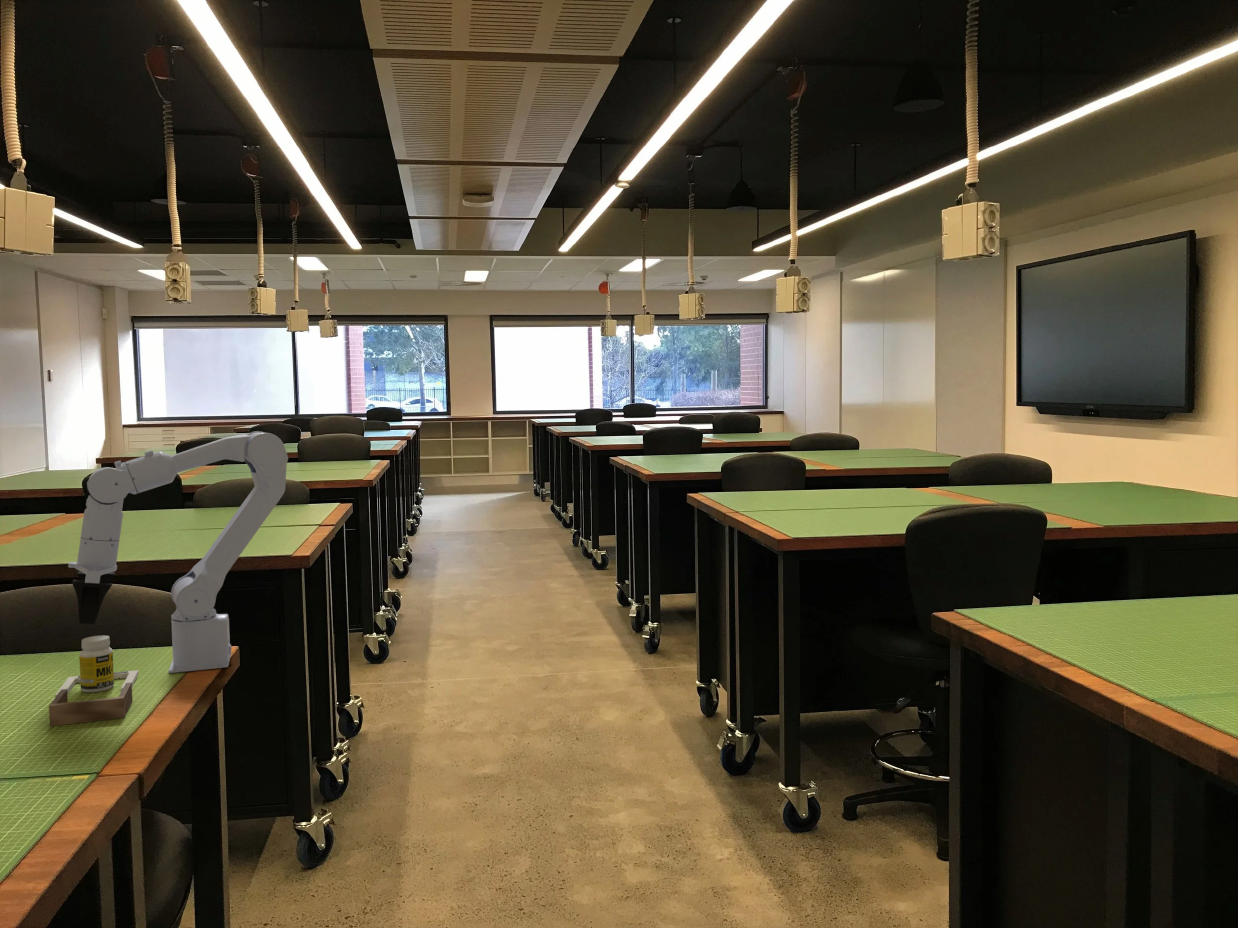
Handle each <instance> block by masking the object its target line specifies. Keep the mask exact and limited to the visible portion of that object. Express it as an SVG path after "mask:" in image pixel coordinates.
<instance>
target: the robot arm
mask: <svg viewBox="0 0 1238 928" xmlns="http://www.w3.org/2000/svg"><path fill="white" fill-rule="evenodd" d="M288 456H289V455H288V453H287V450H286V448H285V445H284V442H283V441H282V440H281V437H280V438H279V437H278V436H277V435H275V434H273V433H270V432H264V431H259V430H257V431H251V432H249V433H247V434H245V433H243V434H237V435H233V436H232V435H231V436H226V437H223V438H219V439H217V440H214V441H211V442H207V443H205V444H202V445H198V446H196V447H192V448H189V449H187V450H185V451H184V450H183V451H182V452H178V453H175V454H172V455H171V454H168V453H166V452H164V451H156V452H154V450H148V451H145V452H144V455H143V456H140V457H136V458H134V459H129V460H127V461H125V462H124V461H123V462H122V461H121V460H117V461H114V463H113V464H114V466H115V468H114V467H109V466H108V467H106V466H105V467H101V468H98V469H96V470H95V471H93V472H92V473H91V475H90V476H89V477H88V480H87V481H86V487H87V491H88V493H89V495H88V497H87V499H86V501H85V502H86V503H85V507H86V508H85V509H84V512H83V518H82V526H81V531H80V540H79V548H78V553H77V560H76V561H69V562H68V564H67V565H68V566H67V567H68V568H69V569H71V568H73V569H75V570H77V571H78V572H77V573H76V574H77V577H78V579H74V578H73V580H72V586H73V589H74V592H75V594H76V599H77V612H78V621H79V624H80V625H81V624H83V625H94V624H95V623H96V621H97V618H98V615H99V614H100V613H99V612H100V609H101V606H102V603H103V601H104V598H105V596H106V595H107V594H108V592H109V590H110V589H111V588H112V586H113V583H112V582H111V581H113V579H114V577H115V576H116V571H117V570H118V565H117V562H118V561H117V560H118V554H119V553H118V552H119V545H120V540H121V539H120V538H121V531H122V523H123V517H124V513H123V506H124V505H123V504H124V499H125V498H126V497H127V496H128V494H132V495H137V494H140V493H142V492H146V491H150V490H153V489H156V488H158V487H162V486H165V485H168V484H171V483H173V481H174V480H175V478H176V476H177V475H178V473H181V472H185V471H188V470H192V469H195V468H199V467H202V466H205V465H206V466H207V465H209V464H212V463H216V462H220V461H222V460H223V461H224V460H228V461H229V460H230V461H235V462H241V463H242V462H243V463H244V462H245V463H246V465H247V466H248V468H249V470H250V473H251V474H250V475H251V477H252V478H251V479H252V482H253V485H254V487H253V488H252V490H251V491H250V493H249V494H248V495H247V497H246V498H245V499H244V501H243V502H242V503H241V505H240V506H239V508H238V509H237V511H236V512H235V513H234V514H233V516H232V517H231V519H230V520H229V521H228V523H227V524H226V525H225V527H224V528H223V530H222V531H221V533H220V534H219V535H218V536H217V537H216V539H215V540H214V542H213V543H212V545H210V548H209V549H208V550H207V552H206V553H205V554H204V556H203V557H202V558H201V559H200V560H199V561H198V562H197V563H196V564H195V565H193V566H192V568H191V569H190V570H189V571H188V573H186V574H185V575H183V576H181V577H179V578H178V579H177V580H176V581H175V582H174V584H172V587H171V591H170V596H171V599H172V602H174V604H175V607H176V609H175V611H174V612H173V613H172V614H171V617H170V618H171V619H170V620H171V640H172V642H171V644H172V646H171V647H172V661H171V663H170V666H169V668H168V673H169V674H173V673H174V674H176V673H182V672H183V673H185V672H193V671H203V670H205V671H206V670H213V669H222V668H223V669H224V668H228V667H229V665H230V659H231V655H232V644H231V642H230V641H231V640H230V637H231V636H230V618H229V614H228V613H217V610H216V608H214V607H215V604H216V599H217V596H218V595H217V594H218V593H219V591H220V590H221V588H222V587H223V585H224V581H225V579H226V576H227V574H228V573H229V571H230V570H231V569H232V567H233V565H234V564H235V563H236V561H237V560H238V559H239V557H240V556H241V555H242V553H243V551H244V550H245V549H246V547H247V546H248V545H249V543H250V541H251V540H252V539H253V538H254V536H255V535H256V534H257V532H258V531H259V529H260V528H261V526H262V525H263V523H265V521H266V520H267V518H268V517H269V515H270V514H271V512H272V511H273V510H274V508H275V507H276V505H278V503H279V501H280V499H281V498H282V497H283V496H284V493H285V491H286V486H287V485H286V482H287V481H286V480H287V464H288V461H289V457H288Z"/></svg>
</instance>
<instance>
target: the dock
mask: <svg viewBox="0 0 1238 928" xmlns="http://www.w3.org/2000/svg"><path fill="white" fill-rule="evenodd" d="M113 673H114V680H119V679H118V678H120V679H125V680H124V681H123V684H122V685H121V687H120V692H121V691H122V689H123V687H124V686H125V684H126V683H131V682H132V687H134V684H135V683H134V682H136V681H135V680H137V679H136V678H138V677H137V676H139V670H138V669H136V670H124V671H116V672H114V671H113ZM75 684H81V683H80V675H78V676H77V675H76V676H68V678H67V679H66V680H65V681H64V683H63V684H62V685H61V687H59V689H58V691H57V692H56V693H55V695H54V696H55V697H56V696H57V695H58V693H59V692H60V691H61V690H63V689H67V695H68V694H69V693H70V692H71V690H72V689H73V687H74V686H75ZM55 697H54V698H55Z"/></svg>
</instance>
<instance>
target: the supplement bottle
mask: <svg viewBox="0 0 1238 928" xmlns="http://www.w3.org/2000/svg"><path fill="white" fill-rule="evenodd" d="M110 644H111V640H110V635H104V634H103V635H93V636H89V637H85V638H82V639H81V649H82V650H81V651H80V653H79V655H78V656H79V657H78V659H79V673H80V674H79V676H80V683H79V684H80V691H81V692H83V693H99V692H105V691H108V690H110V689H112V688H113V687H114V685H115V679H114V673H113V672H114V656H113V655H114V654H113V653H114V651H113V649H112V648H111V647H110V646H111V645H110Z"/></svg>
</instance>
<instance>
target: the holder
mask: <svg viewBox="0 0 1238 928" xmlns="http://www.w3.org/2000/svg"><path fill="white" fill-rule="evenodd" d="M68 697H69V696H68V694H67V689H63V690H61V691H60V692H59V693H58V695H57V696H56V697H54V699H53V700H52V701H51V703H50V704H49V705H48V715H49V717H48V718H49V726H50V727H54V726H55V727H56V726H62V725H63V726H65V725H73V724H74V725H75V724H81V723H90V722H91V723H92V722H99V721H107V720H115V719H116V720H117V719H123V718H125V717H126V715H127V713H128V712H129V710H130V707H131V705H132V703H133V686H132V682H131V683H126V684H125V686H124V687H123V689H122V691H121V690H120V694H119V695H118V696H117V697H107V698H99V699H98V698H97V699H87V700H86V699H85V700H79V701H69V700H68Z"/></svg>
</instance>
